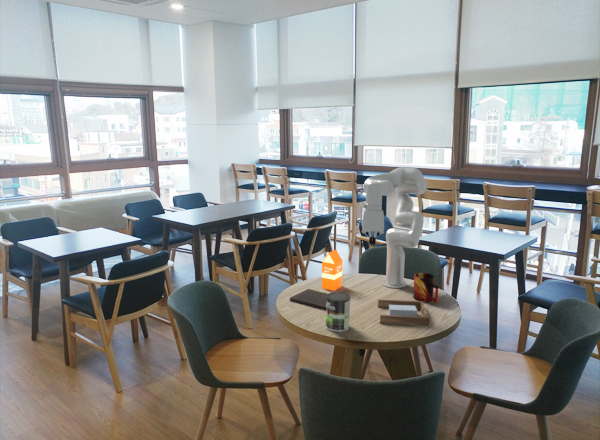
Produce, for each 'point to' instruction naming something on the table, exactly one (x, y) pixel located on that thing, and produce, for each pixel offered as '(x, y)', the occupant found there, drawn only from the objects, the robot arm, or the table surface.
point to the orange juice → (332, 271)
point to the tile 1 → (396, 310)
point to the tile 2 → (409, 310)
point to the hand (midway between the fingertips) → (372, 245)
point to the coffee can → (337, 311)
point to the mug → (425, 287)
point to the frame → (404, 319)
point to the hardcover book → (311, 299)
